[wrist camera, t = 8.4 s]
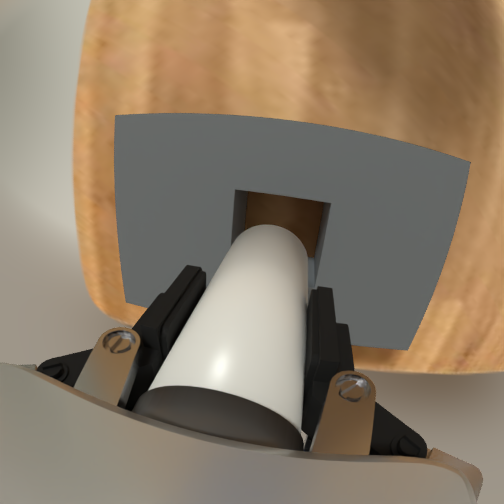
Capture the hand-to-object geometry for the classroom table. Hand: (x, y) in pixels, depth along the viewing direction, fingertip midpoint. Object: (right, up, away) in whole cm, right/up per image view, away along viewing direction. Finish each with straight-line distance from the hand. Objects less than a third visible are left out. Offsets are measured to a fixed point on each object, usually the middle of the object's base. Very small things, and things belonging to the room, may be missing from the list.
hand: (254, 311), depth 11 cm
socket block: (+2, +5, +11) cm, 12 cm away
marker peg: (+1, +2, +4) cm, 4 cm away
